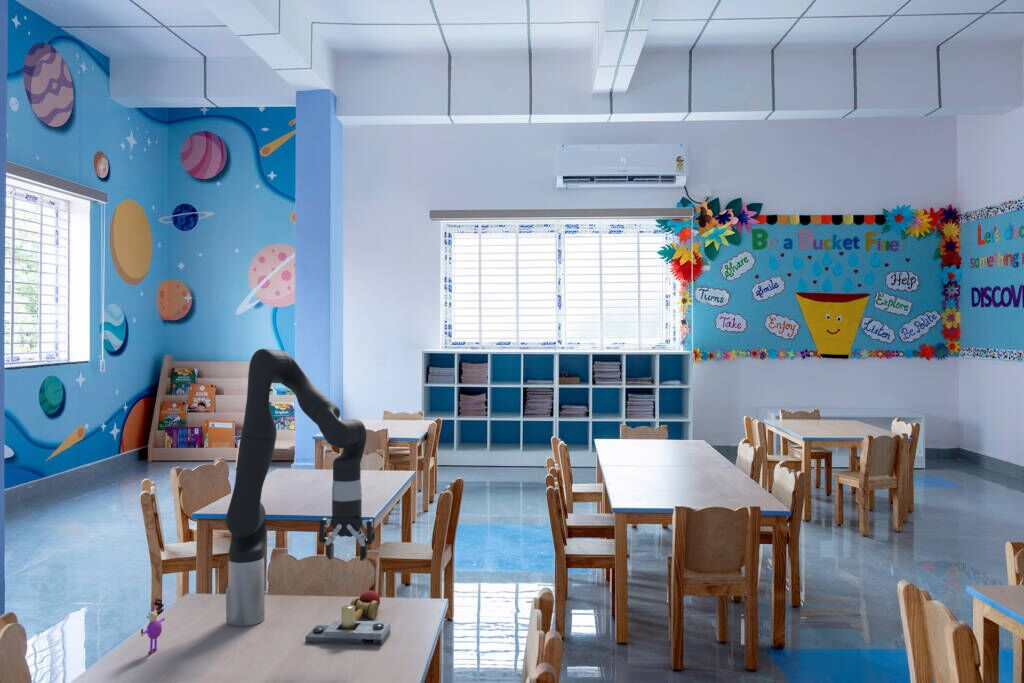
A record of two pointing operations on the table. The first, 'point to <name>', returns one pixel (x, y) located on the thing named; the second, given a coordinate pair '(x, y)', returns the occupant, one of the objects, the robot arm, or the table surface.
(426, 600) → the table surface
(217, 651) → the table surface
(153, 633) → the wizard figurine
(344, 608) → the brass pin
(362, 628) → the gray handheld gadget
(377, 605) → the kendama
